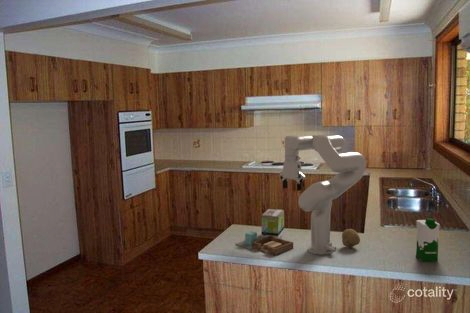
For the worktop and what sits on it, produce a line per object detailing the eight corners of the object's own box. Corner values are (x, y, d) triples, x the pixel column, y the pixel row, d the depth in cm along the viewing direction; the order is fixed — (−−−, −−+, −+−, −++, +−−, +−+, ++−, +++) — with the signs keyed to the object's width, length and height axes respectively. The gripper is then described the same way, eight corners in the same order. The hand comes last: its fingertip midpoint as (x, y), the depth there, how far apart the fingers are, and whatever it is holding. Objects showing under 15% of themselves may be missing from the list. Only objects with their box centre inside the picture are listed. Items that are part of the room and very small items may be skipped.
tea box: (278, 242, 223) (278, 216, 221) (261, 240, 226) (260, 215, 224) (284, 234, 237) (284, 209, 235) (267, 232, 240) (267, 208, 238)
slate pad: (266, 244, 220) (266, 243, 220) (251, 250, 212) (251, 249, 212) (250, 239, 229) (250, 238, 229) (235, 244, 221) (235, 243, 221)
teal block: (257, 243, 220) (256, 232, 219) (251, 245, 217) (251, 234, 216) (251, 241, 223) (250, 231, 223) (245, 243, 220) (245, 233, 220)
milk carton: (422, 262, 190) (423, 220, 187) (413, 255, 199) (414, 215, 196) (440, 261, 190) (442, 220, 187) (430, 254, 199) (432, 214, 196)
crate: (293, 248, 212) (293, 242, 212) (275, 256, 203) (275, 249, 202) (270, 241, 224) (270, 235, 223) (252, 248, 214) (252, 242, 214)
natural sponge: (361, 246, 213) (361, 227, 211) (357, 252, 205) (357, 232, 204) (344, 243, 217) (344, 225, 216) (339, 249, 210) (339, 230, 209)
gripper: (308, 158, 218) (309, 190, 220) (283, 156, 231) (284, 186, 233) (300, 160, 213) (300, 192, 215) (275, 158, 225) (275, 188, 228)
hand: (292, 189), depth 224 cm, fingers open, 9 cm apart
